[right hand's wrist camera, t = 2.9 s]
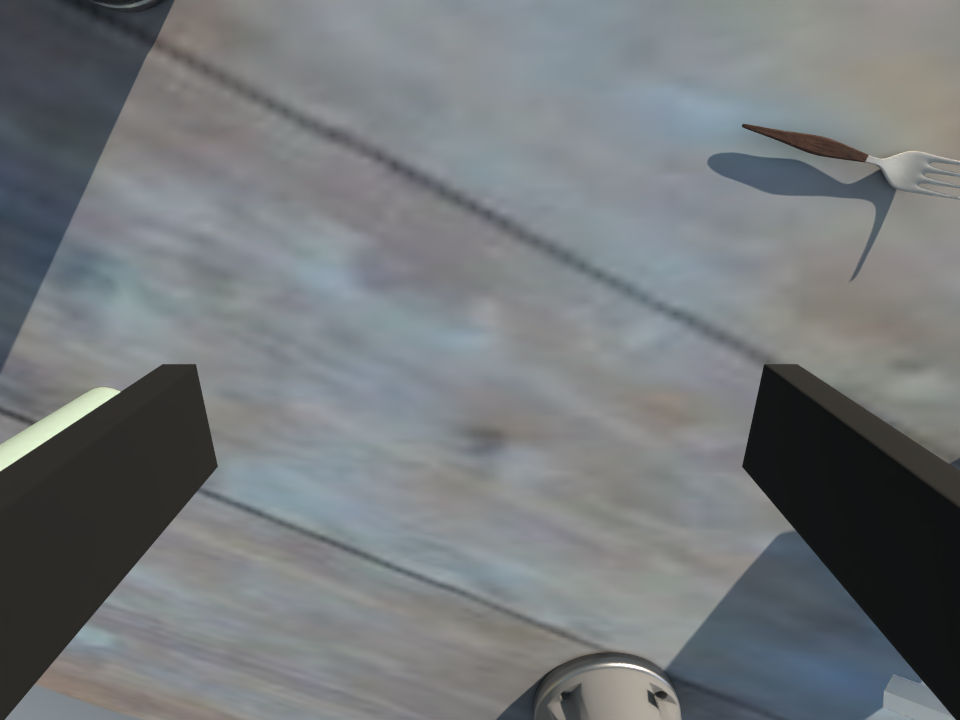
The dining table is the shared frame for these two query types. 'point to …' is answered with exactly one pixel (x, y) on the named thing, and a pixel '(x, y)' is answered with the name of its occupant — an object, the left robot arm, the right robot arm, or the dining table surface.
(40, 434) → the bottle
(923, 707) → the white plastic object
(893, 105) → the dining table surface
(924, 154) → the fork
